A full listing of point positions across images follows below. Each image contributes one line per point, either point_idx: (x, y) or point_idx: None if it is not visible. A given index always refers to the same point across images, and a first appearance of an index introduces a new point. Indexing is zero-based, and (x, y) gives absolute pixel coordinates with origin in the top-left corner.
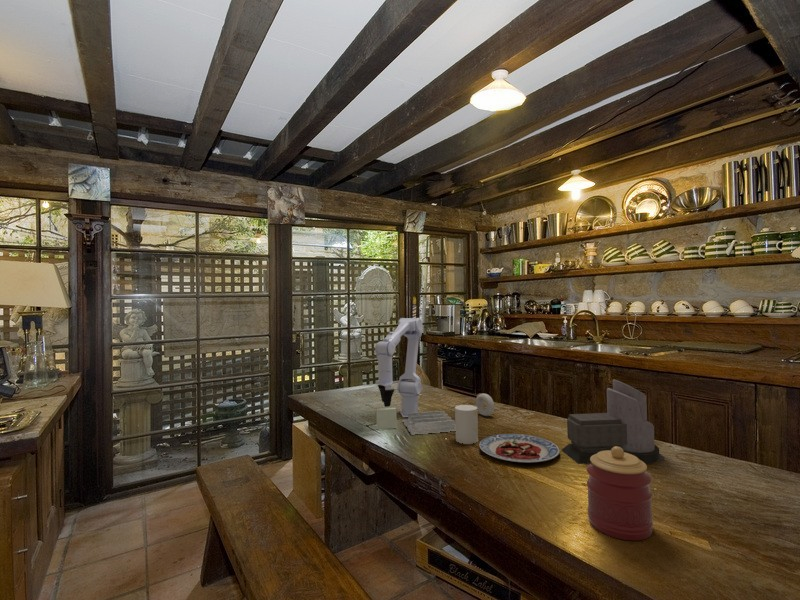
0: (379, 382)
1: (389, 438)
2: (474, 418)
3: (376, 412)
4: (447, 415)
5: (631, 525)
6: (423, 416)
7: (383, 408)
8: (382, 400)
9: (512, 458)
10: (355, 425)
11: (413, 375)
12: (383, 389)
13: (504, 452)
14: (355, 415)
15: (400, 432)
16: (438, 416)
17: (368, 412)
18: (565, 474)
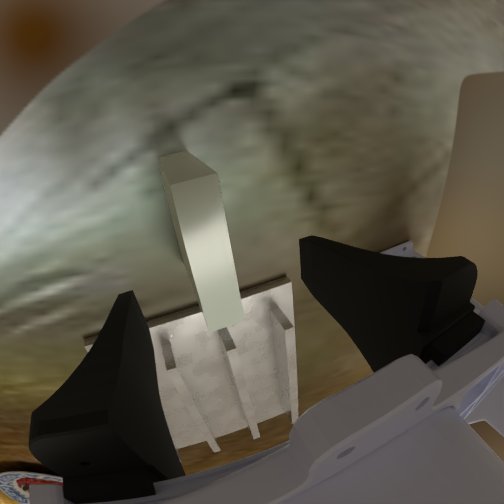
0: (303, 491)
1: (25, 253)
2: None
3: (194, 171)
4: (251, 434)
5: None
6: (237, 389)
7: (226, 237)
8: (308, 245)
9: (8, 487)
10: (256, 23)
11: (473, 419)
12: (87, 462)
13: (26, 487)
14: (408, 46)
15: (118, 291)
16: (246, 418)
17: (434, 108)
18: (11, 500)
